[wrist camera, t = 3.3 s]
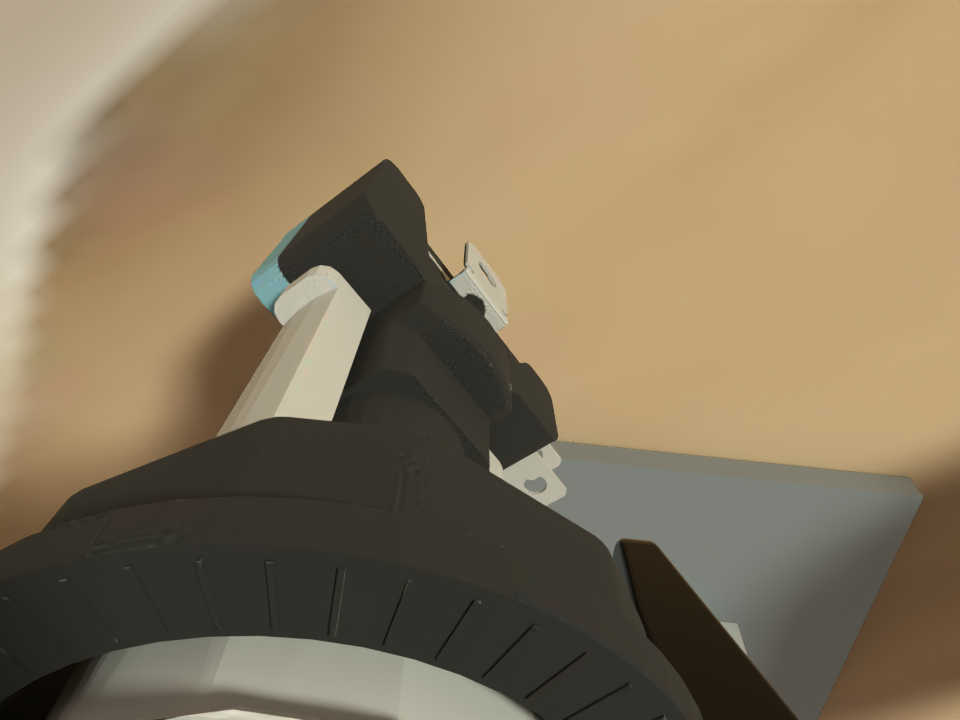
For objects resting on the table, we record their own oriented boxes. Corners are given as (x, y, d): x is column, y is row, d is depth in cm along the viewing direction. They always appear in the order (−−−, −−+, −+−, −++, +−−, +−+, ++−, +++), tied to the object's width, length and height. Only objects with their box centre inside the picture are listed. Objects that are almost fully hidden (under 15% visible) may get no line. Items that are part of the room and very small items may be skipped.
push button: (659, 389, 13) (1031, 1212, 4) (433, 516, 15) (357, 1330, 6) (448, 80, 11) (273, 501, 2) (201, 271, 12) (-591, 1039, 3)
